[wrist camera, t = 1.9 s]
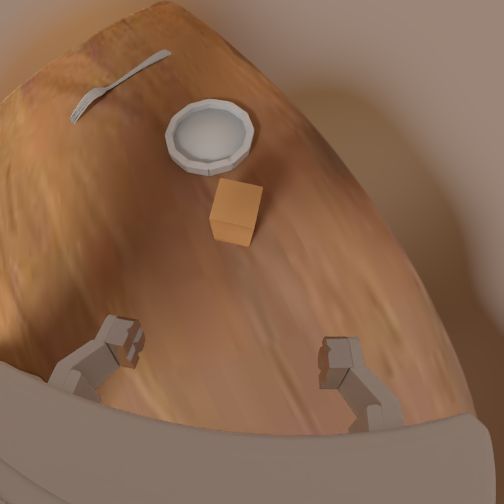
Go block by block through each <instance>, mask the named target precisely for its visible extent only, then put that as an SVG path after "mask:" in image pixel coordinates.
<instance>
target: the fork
mask: <svg viewBox="0 0 504 504" xmlns="http://www.w3.org/2000/svg"><path fill="white" fill-rule="evenodd" d="M169 55H171V52H170V51H168V50H166V49H164V50H161V51H159V52H157V53H155V54H154V55H152V56H151V57H149V58H148V59H146V60H145V61H144V62H142V63H141V64H140V65H138V66H137V67H136V68H134V69H133V70H132V71H130V72H129V73H128V74H126V75H125V76H123V77H122V78H121V79H119V80H118V81H116V82H115V83H113V84H112V85H110V86H108V87H104V88H101V87H97V88H94V89H92V90H91V91H89V92H88V93H87V94H86V95H85V96H84V97H83V99H82V100H81V101H80V103H79V104H78V106H77V107H76V109H75V110H74V112H73V114H72V116H73V115H74V116H73V118H74V117H75V118H74V120H75V119H76V117H77V116H78V117H77V119H76V120H75V122H74V120H73V118H72V116H71V117H70V119H71V118H72V120H73V121H72V120H71V121H72V123H73V122H74V124H75V123H76V121H77V120H78V118H79V117H80V116H81V114H82V113H83V112H84V110H85V109H86V108H87V107H88V105H89V104H90V103H91V102H92V101H93V100H95V99H96V98H98V97H99V96H101V95H103V94H104V93H105V92H106V91H107V90H109V89H111V88H113V87H114V86H116V85H118V84H119V83H121V82H122V81H124V80H125V79H127V78H128V77H130V76H131V75H133V74H135V73H136V72H138V71H140V70H141V69H143V68H145V67H147V66H149V65H151V64H153V63H155V62H157V61H159V60H161V59H163V58H165V57H167V56H169ZM86 97H87V98H86ZM88 98H89V99H88ZM87 99H88V100H87ZM90 99H91V100H90ZM81 103H82V104H81ZM83 104H84V105H83ZM82 105H83V106H82ZM79 106H80V107H79ZM84 106H85V107H84ZM78 107H79V108H78ZM80 108H81V109H80ZM77 109H78V110H77ZM82 109H83V110H82ZM76 110H77V111H76ZM81 110H82V111H81ZM78 111H79V112H78ZM75 112H76V113H75ZM77 112H78V113H77ZM80 112H81V113H80ZM74 113H75V114H74ZM79 113H80V114H79ZM76 114H77V115H76ZM78 114H79V115H78ZM75 115H76V116H75Z"/></svg>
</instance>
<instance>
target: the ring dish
mask: <svg viewBox="0 0 504 504" xmlns="http://www.w3.org/2000/svg"><path fill="white" fill-rule="evenodd" d="M253 137H254V128H253V125H252V123H251V120H250V118H249V116H248V113H247V112H245V111H244V110H242V109H241V108H239V107H238V106H236V105H235V104H234V103H232V102H229V101H222V100H216V99H207V100H203V101H199V102H195V103H191V104H188V105H187V106H186V107H184V108H183V109H182V110H180V111H179V112H178V113H177V114H175V115H174V116H173V117H172V119H171V121H170V123H169V126H168V128H167V130H166V133H165V138H166V143H167V147H168V151H169V154H170V157H171V159H172V160H173V161H174V162H175V163H177V164H178V165H179V166H180V167H181V168H182V169H184V170H185V171H186V172H188V173H194V174H199V175H205V176H209V175H210V176H213V175H216V174H220V173H223V172H227V171H231V170H232V169H234V168H235V167H236V166H237V165H239V164H240V163H241V162H242V161H243V160H244V159H245V158H246V157H247V156H248V155H249V153H250V149H251V145H252V141H253Z"/></svg>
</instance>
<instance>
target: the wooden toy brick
mask: <svg viewBox="0 0 504 504" xmlns="http://www.w3.org/2000/svg"><path fill="white" fill-rule="evenodd" d="M262 191H263V187H261V186H257V185H252V184H248V183H243V182H238V181H233V180H229V179H224V178H220V180H219V184H218V187H217V191H216V195H215V198H214V202H213V206H212V209H211V213H210V217H209V220H210V224H211V228H212V232H213V235H214V239H215V240H220V241H224V242H229V243H233V244H238V245H242V246H247V247H249V245H250V242H251V238H252V235H253V231H254V227H255V223H256V218H257V214H258V209H259V205H260V200H261V195H262Z"/></svg>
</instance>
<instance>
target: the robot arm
mask: <svg viewBox="0 0 504 504" xmlns="http://www.w3.org/2000/svg"><path fill="white" fill-rule="evenodd" d="M140 325H141V324H140V322H139V320H136V319H131V318H126V317H121V316H116V315H111V314H109V315H108V316H107V317H106V319H105V320H104V322H103V324H102V326H101V328H100V330H99V332H98V334H97V335H96V337H95V339H94V340H90V341H89V342H87V343H86V344H84V345H83V346H82V347H80V348H79V349H77V350H76V351H74V352H73V353H71V354H70V355H68V356H67V357H65V358H64V359H62V360H61V361H59V362H58V363H57V365H56V367H55V369H54V371H53V373H52V375H51V377H50V379H49V381H48V383H45V382H44V381H43V380H42V379H41V378H40V377H38V376H36V375H33V374H30V373H27V372H24V371H21V370H18V369H16V368H14V367H13V366H11V365H9V364H7V363H5V362H3V361H0V504H495V498H496V495H495V493H496V483H495V481H496V480H495V464H494V456H493V449H492V443H491V438H490V434H489V432H488V429H487V428H486V427H485V426H484V425H483V424H482V423H481V422H480V421H479V420H478V419H477V418H476V417H474V416H473V415H472V414H471V413H467V412H466V413H461V414H457V415H454V416H450V417H446V418H442V419H438V420H434V421H429V422H425V423H420V424H415V425H410V426H405V425H404V420H403V414H402V409H401V404H400V401H399V400H398V399H397V398H396V397H395V396H394V394H393V393H392V392H391V391H390V390H389V389H388V388H387V387H386V386H385V385H384V384H383V383H382V382H381V381H380V380H379V378H378V377H377V376H376V375H375V374H374V373H373V372H372V371H371V370H370V369H369V368H365V364H364V359H363V354H362V349H361V344H360V339H359V338H358V337H324V338H323V341H322V344H323V346H322V347H321V348H320V350H319V354H318V368H319V369H320V370H321V372H320V374H319V387H320V389H338V391H339V392H340V394H341V395H342V397H343V398H344V399H345V401H346V402H347V404H348V405H349V407H350V408H351V409H352V411H353V412H354V414H355V415H356V416H357V419H356V420H355V421H354V423H353V424H352V425H351V426H350V427H349V428H348V429H349V433H348V434H332V435H268V434H252V433H240V432H230V431H221V430H214V429H206V428H200V427H194V426H188V425H182V424H177V423H172V422H167V421H162V420H158V419H153V418H149V417H145V416H141V415H137V414H133V413H130V412H126V411H123V410H119V409H116V408H112V407H109V406H106V405H103V404H100V400H101V398H100V396H99V395H98V393H97V392H96V391H95V389H96V388H97V387H98V386H99V385H100V384H101V383H102V382H103V381H104V380H106V379H107V378H108V377H109V376H110V375H111V374H112V373H113V372H114V371H115V370H117V369H118V368H119V366H122V367H127V368H132V369H135V368H136V365H137V363H138V360H139V356H138V353H139V352H140V351H142V349H143V347H144V342H145V336H144V332H143V331H142V330H141V329H140Z"/></svg>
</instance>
